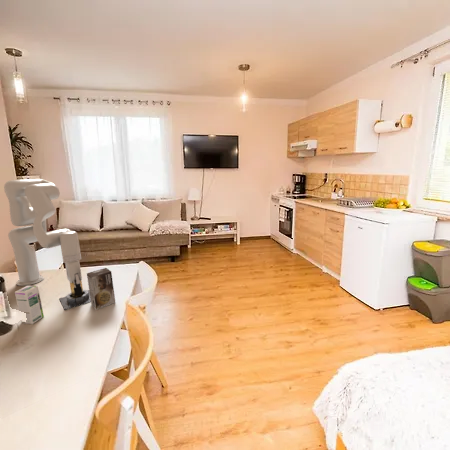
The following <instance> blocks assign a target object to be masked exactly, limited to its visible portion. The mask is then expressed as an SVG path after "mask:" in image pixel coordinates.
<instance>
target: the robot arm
mask: <svg viewBox="0 0 450 450" xmlns="http://www.w3.org/2000/svg"><path fill="white" fill-rule="evenodd" d="M3 188H4V189H3V190H4V193H5V196H6V197H7V200H8V204H9V215H10V222H11V224H12V225H13V226H15V227H16V228H12V229H11V230H9V232H8V235H7V236H8V240H9V242H10V245H11V247H12V250H13V255H14V259H15V264H16V271H17V275H18V279H17V280H16V283H15V284H16V285H17V286H19V287H22V286H23V287H26V286H32V285H36V284H37V283H40V282H42V281H43V280H44V276H43V275H40V270H39V264H38V259H37V254H36V253H37V252H36V249H35V248H34V247H32V246H31V245H30V244H32V243H36V242H38V244H39V245H40V247H42V248H44V249H52V248H55V247H59V246H60V249H61V250H60V251H61V256H62V257H61V258H62V262H63V263H65V264H64V265H65V271H66V279H67V281H68V282H69V284H70V283H72V282H73V283H74V293H75V296H78V295H81V294H82V287H83V286H82V287H81V283H80V281H81V280H83V277H82V271H81V270H82V269H81V265H80V261H81V260H82V254H81V247H80V241H79V240H80V239H79V233H78V232H77V231H75V230H71V229H69V228H62V229H61V228H60V229H55V230H50V231H48V230H47V219H49V218H51V217H53V216H54V214H56V211H57V210H56V209H57V208H56V207H55V205H54V203H53V201H54V200H56V199H59V197H60V190H59V187H58V185H56V184H55V183H53V182H52V181H48V180H45V179H43V178H35V179H34V178H26V179H11V180H8V181H6V182H5V183H4V185H3ZM52 200H53V201H52ZM30 205H31V206H30ZM74 280H76V281H75V282H74ZM75 283H76V284H75Z"/></svg>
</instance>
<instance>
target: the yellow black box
mask: <svg viewBox="0 0 450 450" xmlns="http://www.w3.org/2000/svg"><path fill="white" fill-rule="evenodd" d="M82 280H83V279H82ZM82 280H81V281H80V283H81V287H82V294H81V295H78V296H75V293H74V283H73V282H72V283H70V282H69V286H70V293H71V294H72V297H75V298H76V297H79V296H83V295H84V294H83V290H84V287H83V283H82V282H83V281H82ZM75 281H76V280H74V282H75ZM75 284H76V283H75Z"/></svg>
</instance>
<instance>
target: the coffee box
mask: <svg viewBox="0 0 450 450" xmlns="http://www.w3.org/2000/svg"><path fill="white" fill-rule="evenodd" d="M86 277H87V282H88V283H87V285H88V290H89V292H90V298H91V302H90V304H91V306H92V307H93V308H94V309H95V310H96V311H97V310H99V309H102V308H104V307H107V306H110V305H112V304H114V303H115V304H116V297H115V296H116V294H115V290H114V289H115V288H114V283H113V275H112V271H111V270H110V269H109V268H107V267H104V268H101V269H97V270H94V271H90V272H87V273H86Z"/></svg>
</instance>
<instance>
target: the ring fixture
mask: <svg viewBox="0 0 450 450" xmlns="http://www.w3.org/2000/svg"><path fill="white" fill-rule="evenodd" d="M83 294H84V295H83V296H79V297H76V298H75V297H72V294H71V292H70V293H68V294H66V296H64V297H60V298H59V301H60V304H61V306H62V307H63V309H64V311H66V310H70V309H73V308H77V307H79V306H83V305H85V304H89V303H91V298H90V292H89V289H83Z"/></svg>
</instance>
